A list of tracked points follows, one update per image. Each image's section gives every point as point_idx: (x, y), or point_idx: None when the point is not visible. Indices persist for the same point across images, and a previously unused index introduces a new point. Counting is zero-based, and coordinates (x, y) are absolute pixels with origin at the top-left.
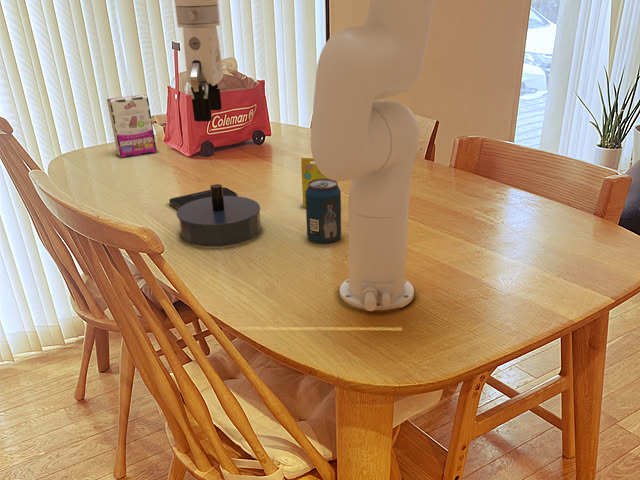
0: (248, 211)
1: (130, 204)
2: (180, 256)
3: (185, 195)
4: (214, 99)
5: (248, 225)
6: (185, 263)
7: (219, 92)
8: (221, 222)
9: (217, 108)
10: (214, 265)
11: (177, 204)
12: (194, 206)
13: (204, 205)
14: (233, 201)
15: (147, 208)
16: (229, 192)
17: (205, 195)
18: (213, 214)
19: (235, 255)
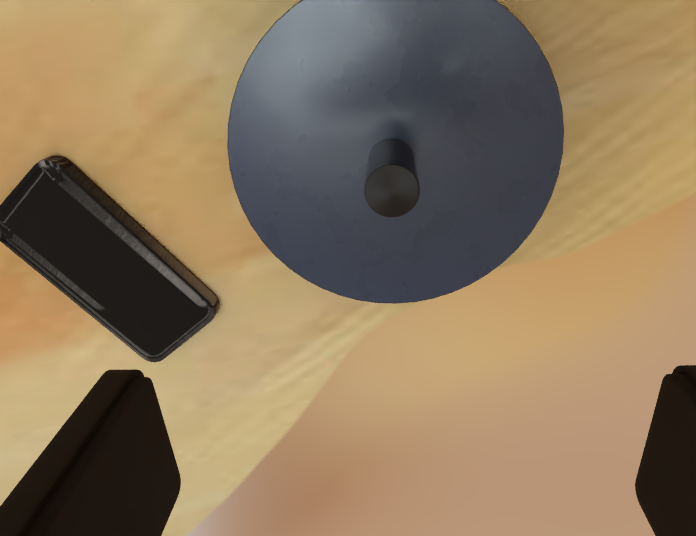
0: (417, 21)
1: (184, 443)
2: (578, 220)
3: (108, 327)
4: (108, 501)
5: None
6: (637, 191)
7: (25, 529)
8: (545, 113)
9: (150, 404)
10: (673, 93)
11: (188, 330)
12: (361, 257)
13: (349, 225)
14: (294, 120)
15: (205, 399)
16: (30, 194)
17: (86, 268)
18: (449, 167)
19: (597, 36)
